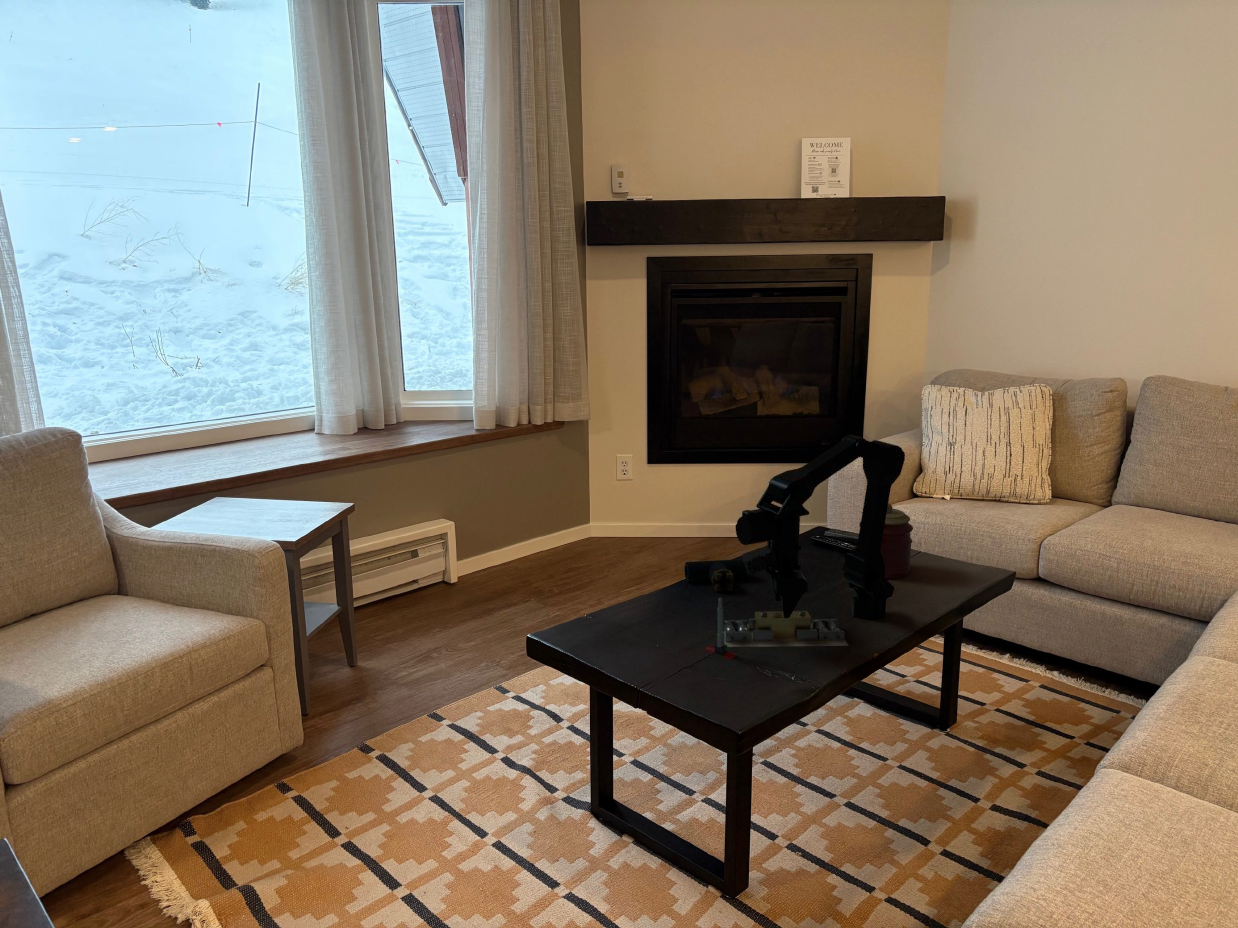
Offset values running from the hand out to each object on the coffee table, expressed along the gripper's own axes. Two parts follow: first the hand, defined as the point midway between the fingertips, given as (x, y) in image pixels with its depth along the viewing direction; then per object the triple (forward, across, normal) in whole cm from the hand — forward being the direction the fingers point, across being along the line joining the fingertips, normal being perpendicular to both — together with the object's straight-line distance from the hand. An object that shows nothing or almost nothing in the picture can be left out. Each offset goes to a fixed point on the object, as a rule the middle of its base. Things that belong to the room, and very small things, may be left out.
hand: (782, 608), depth 185 cm
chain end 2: (+6, 0, +7) cm, 9 cm away
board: (+7, 0, 0) cm, 7 cm away
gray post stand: (+7, +11, -16) cm, 21 cm away
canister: (+7, -40, +33) cm, 53 cm away
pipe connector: (+7, -32, -9) cm, 34 cm away
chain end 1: (+6, 0, -7) cm, 9 cm away
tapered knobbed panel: (+6, 0, 0) cm, 6 cm away
